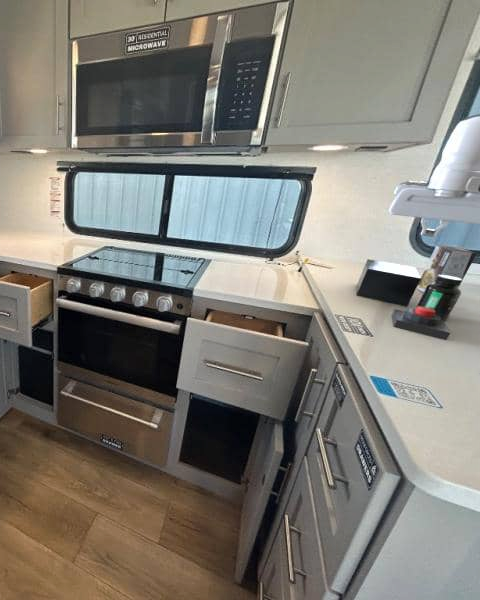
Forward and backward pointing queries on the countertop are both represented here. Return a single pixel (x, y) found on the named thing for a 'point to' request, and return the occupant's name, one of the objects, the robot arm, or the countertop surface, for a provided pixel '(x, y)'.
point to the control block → (420, 323)
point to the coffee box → (446, 264)
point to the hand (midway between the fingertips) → (427, 235)
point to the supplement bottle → (441, 295)
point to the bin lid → (393, 269)
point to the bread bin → (386, 287)
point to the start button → (424, 311)
